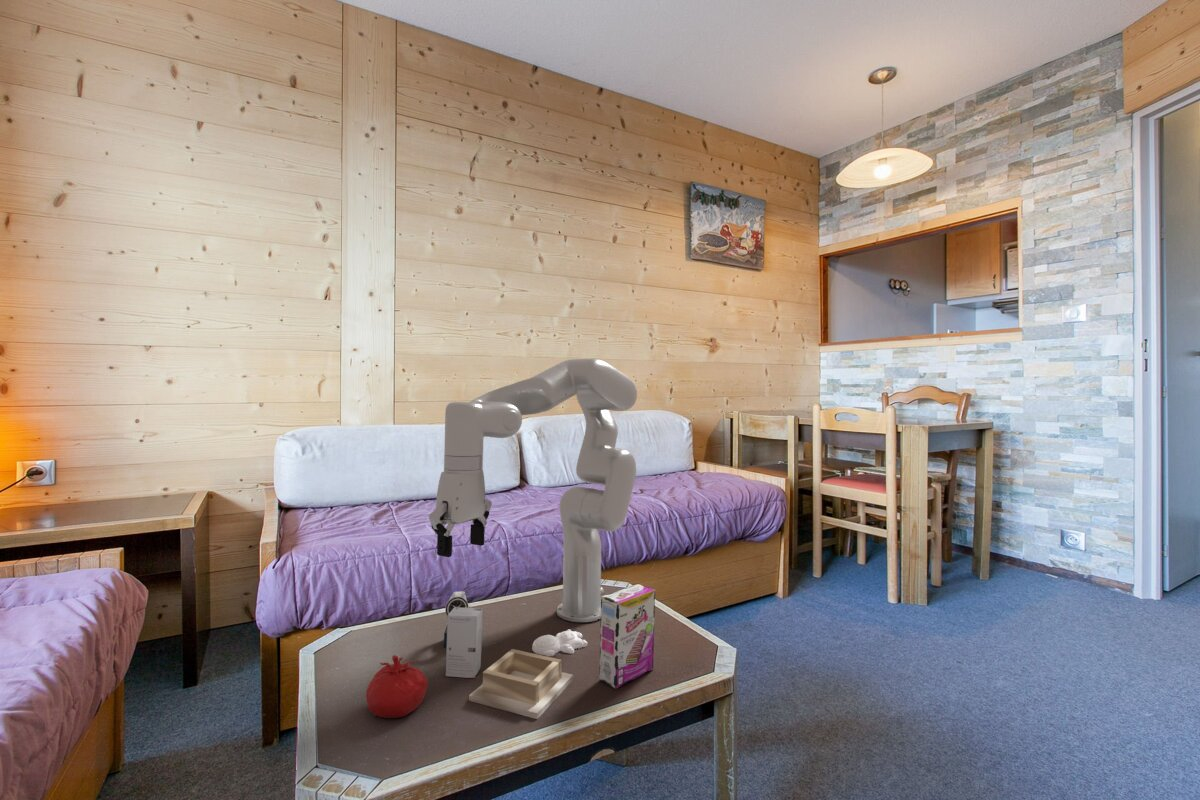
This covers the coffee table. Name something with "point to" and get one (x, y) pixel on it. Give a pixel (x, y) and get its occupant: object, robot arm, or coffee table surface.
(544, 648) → the astronaut figurine
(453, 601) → the watch
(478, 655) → the skincare box
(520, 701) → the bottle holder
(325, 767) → the coffee table surface
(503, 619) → the coffee table surface
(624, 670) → the candy bar box
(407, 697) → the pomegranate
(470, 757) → the coffee table surface
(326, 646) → the coffee table surface
